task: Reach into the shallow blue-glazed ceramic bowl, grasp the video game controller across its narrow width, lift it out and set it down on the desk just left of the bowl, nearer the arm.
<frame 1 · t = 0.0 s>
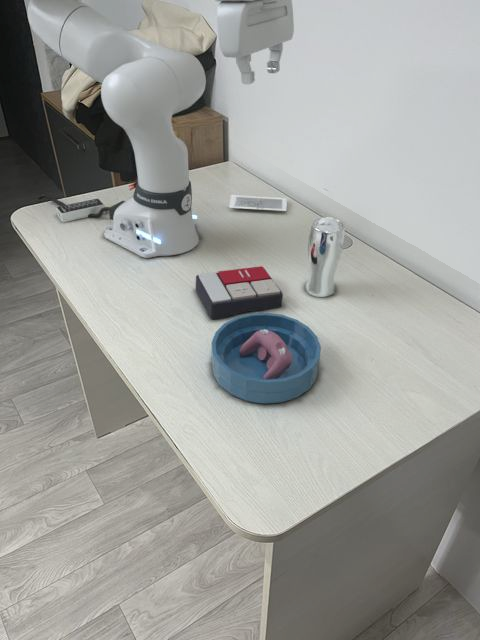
hand: (261, 77, 95), 39 cm above the table, tool pointing down, fingers open, 8 cm apart
multiport hub: (81, 214, 136), on the table
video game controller: (265, 366, 95), resting on blue bowl
blue bowl: (264, 366, 95), on the table
beer glass: (319, 290, 114), on the table
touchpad: (258, 207, 144), on the table
red and gray box: (238, 299, 111), on the table
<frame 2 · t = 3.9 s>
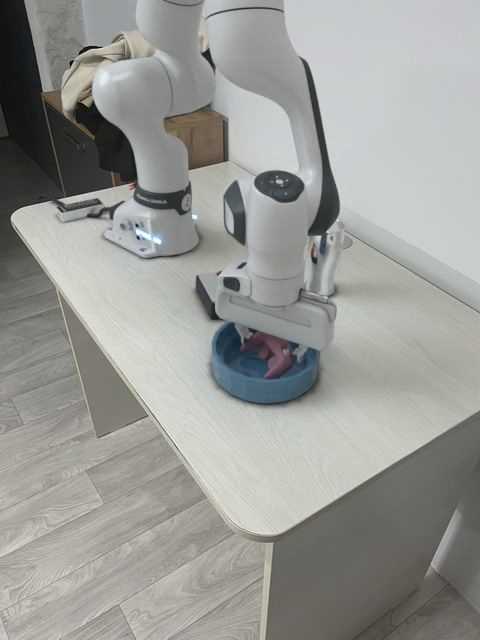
hand: (271, 351, 92), 4 cm above the table, tool pointing down
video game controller: (265, 365, 95), resting on blue bowl, touching gripper
everything else where it was.
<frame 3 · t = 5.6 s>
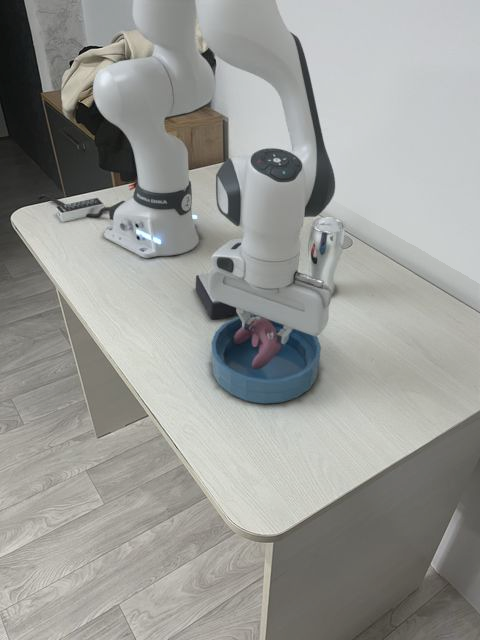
hand: (264, 334, 90), 7 cm above the table, tool pointing down, fingers closed on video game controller, 5 cm apart
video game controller: (258, 353, 95), point 2 cm above the table, touching gripper
everything else where it was.
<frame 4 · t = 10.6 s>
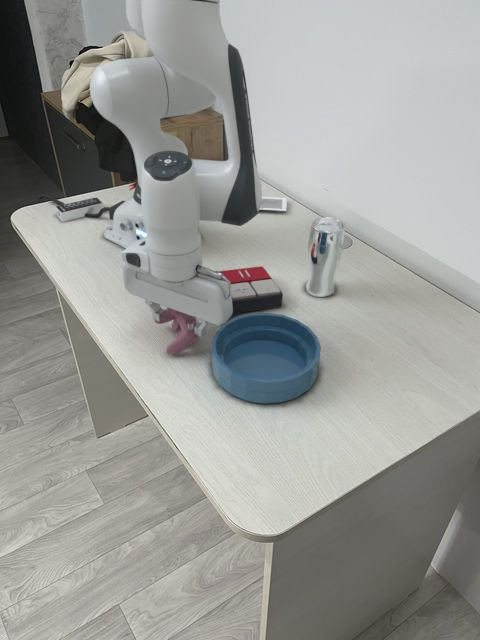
hand: (179, 326, 96), 4 cm above the table, tool pointing down, fingers closed on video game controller, 7 cm apart
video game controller: (175, 337, 99), on the table, touching gripper
everything else where it was.
when the fingers open (4 cm above the table, at t = 10.8 s): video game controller stays where it is, on the table.
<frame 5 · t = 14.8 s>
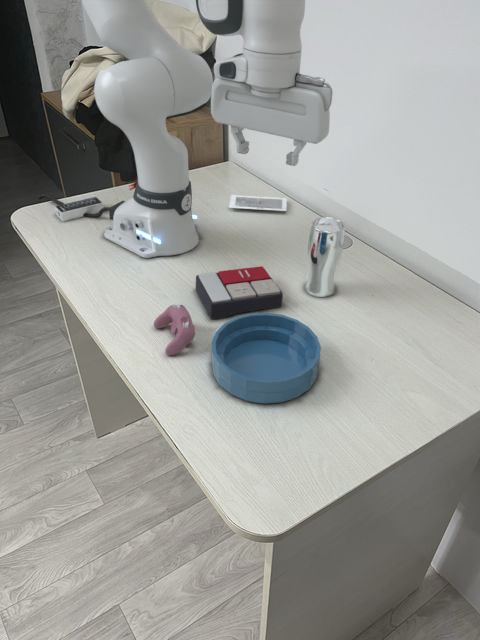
hand: (266, 158, 92), 29 cm above the table, tool pointing down, fingers open, 8 cm apart
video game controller: (175, 339, 100), on the table
everything else where it was.
at the end: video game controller inside the target area (1.5 cm from its centre), on the table; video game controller touching table; the gripper is holding nothing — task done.
